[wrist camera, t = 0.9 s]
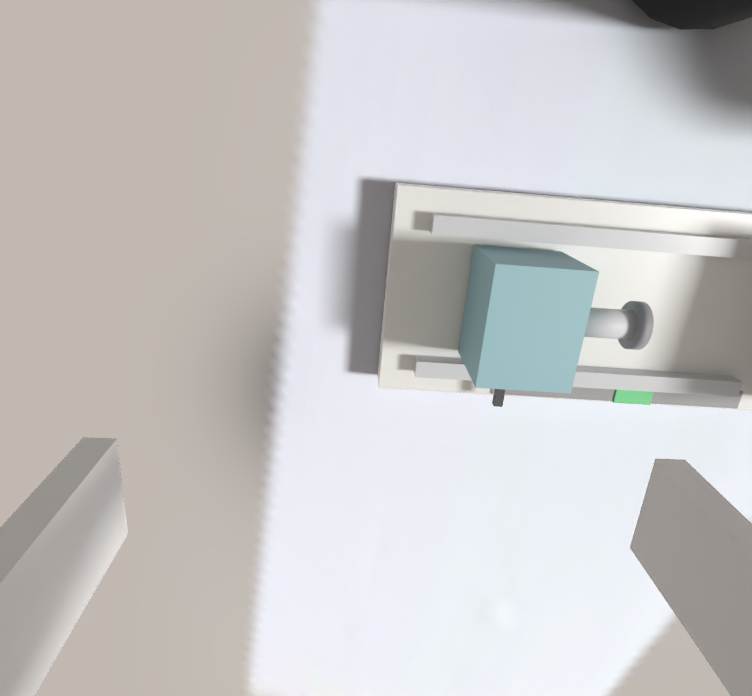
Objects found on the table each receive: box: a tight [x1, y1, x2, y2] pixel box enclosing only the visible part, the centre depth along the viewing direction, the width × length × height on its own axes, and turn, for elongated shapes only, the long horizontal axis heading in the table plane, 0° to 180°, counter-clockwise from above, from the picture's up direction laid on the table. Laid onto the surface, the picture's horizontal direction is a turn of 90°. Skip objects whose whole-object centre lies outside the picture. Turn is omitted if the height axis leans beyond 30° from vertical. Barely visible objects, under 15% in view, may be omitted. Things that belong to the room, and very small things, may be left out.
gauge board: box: [378, 182, 752, 410], centre depth 29 cm, size 12×29×10 cm, turn 85°
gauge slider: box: [458, 245, 654, 407], centre depth 30 cm, size 9×9×5 cm
